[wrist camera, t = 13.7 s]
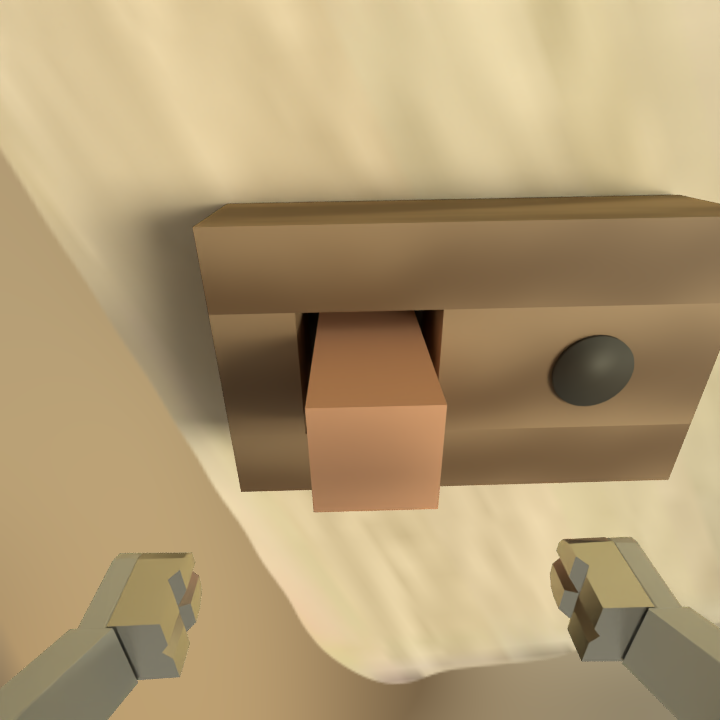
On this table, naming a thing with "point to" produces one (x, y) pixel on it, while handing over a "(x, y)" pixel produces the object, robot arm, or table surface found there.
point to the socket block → (477, 325)
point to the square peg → (373, 414)
